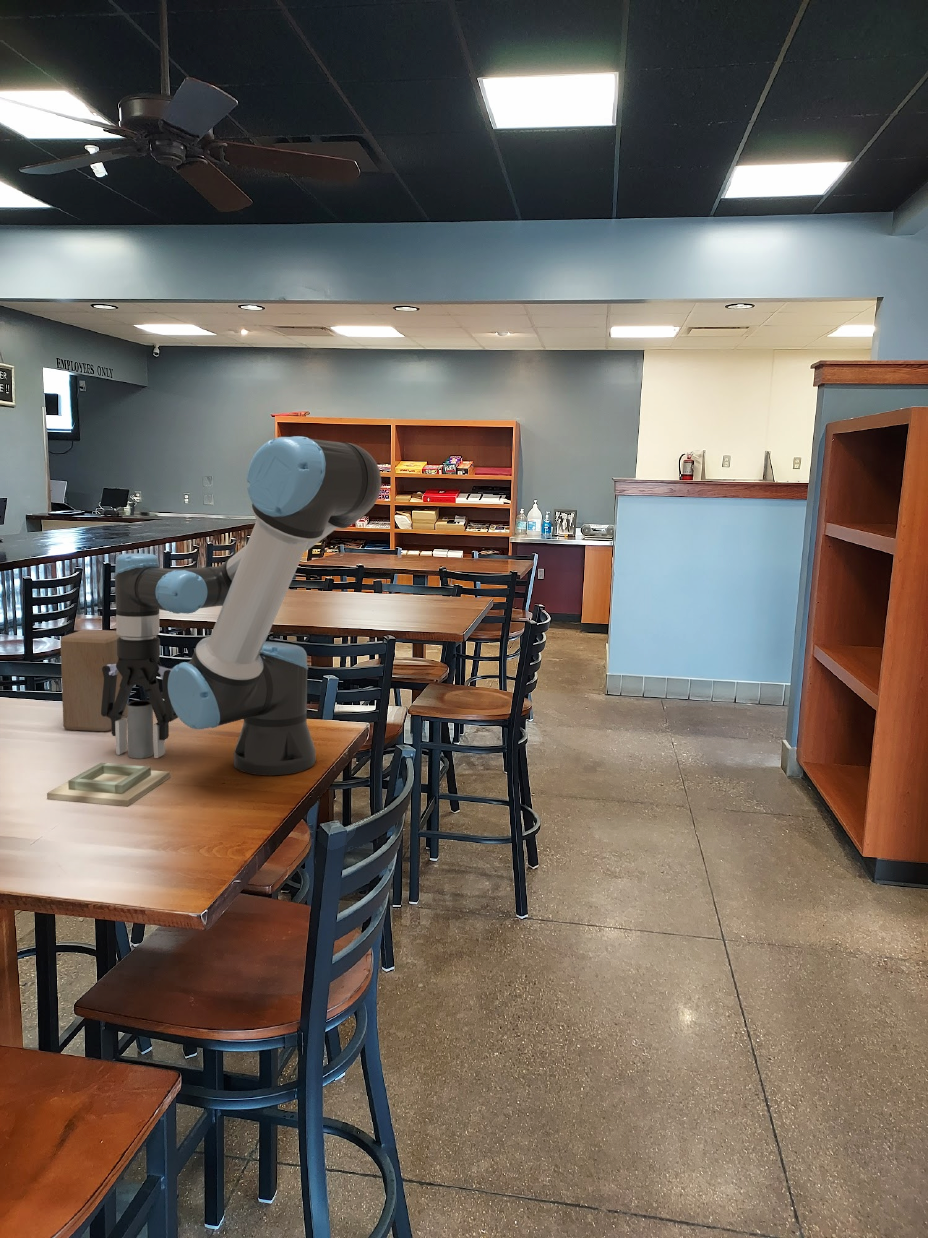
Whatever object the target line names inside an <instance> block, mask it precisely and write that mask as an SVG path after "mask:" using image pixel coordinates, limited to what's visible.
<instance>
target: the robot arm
mask: <svg viewBox="0 0 928 1238" xmlns="http://www.w3.org/2000/svg"><path fill="white" fill-rule="evenodd" d="M381 475H382V474H381V471H380V469H379V466H378V464H377V461H376V460H375V458H373V456H372V455H371V454H370V453H369V452H368V451H367V450H365V448H362V447H361V446H359V445H358V444H354V443H350V442H344V441H332V440H323V439H316V438H315V439H314V438H309V437H307V436H299V435H297V436H295V435H294V436H279V437H275V438H273V439H270V440H268V441H267V442H265V443H263V445H262V446H260V447H259V449H257V451H256V452H255V453H254V455H253V457H252V458H251V461H250V462H249V466H248V469H247V475H246V482H247V483H249V485H248V487H247V493H248V497H249V499H250V501H251V503H252V504H251V507H250V509H251V512H252V513H253V515H254V517H255V519H256V521H255V524H254V526H253V528H252V530H251V531H252V532H251V533H250V536H249V538H248V541H247V544H246V545H244V546H243V547H242V548H241V549H239V550H238V551H237V552H235V553H234V554H233V556H231V557H230V558H229V559H227V560H226V561H225V562H224V563H221V564H220V565H218V566H205V567H204V566H203V567H189V568H188V567H187V568H163V567H160V562H159V558H158V556H157V555H155V554H153V553H121V554H118V555H117V556H116V558H115V572H114V575H113V577H114V589H115V590H114V591H115V611H116V612H115V613H116V615H115V621H116V624H115V625H116V626H115V627H116V628H115V629H116V630H115V631H116V633H117V635H118V636H120V637H119V638H118V639H117V656H118V661H117V663H116V664H109V665H106V666H103V667H102V672H103V676H104V685H103V696H102V707H101V715H102V716H104V717H105V716H106V717H109V718H110V719H111V725H112V729H111V735H112V737H115V755H117V756H119V755H122V754H124V753H126V752H128V723H127V718H121V717H122V716H124V715H125V714H124V715H123V713H124V710H125V707H126V704H128V702H129V698H130V696H131V692H132V690H133V687H134V686H136V685H137V686H139V687H143V690H144V692H146V694H147V697H148V701H150V703H151V705H152V708H153V715H154V716H155V719H156V723H153V744H154V754H153V756H154V757H153V758H155V759H158V758H160V757H162V756H164V755H165V754H166V740H167V739H168V738H169V736H170V733H169V732H170V728H169V723H171V722H173V721H175V720H176V719H179V720H180V721H181V722H182V723H183V724H184V725H185V726H187V727H189V728H191V729H193V730H205V729H210V728H212V729H214V728H217V727H219V726H224V725H227V724H232V723H234V722H238V721H241V720H243V724H242V728H241V730H240V733H239V737H238V739H237V742H236V745H235V749H234V753H233V766H234V767H235V769H237V770H239V771H240V772H243V773H247V774H250V775H251V774H252V775H257V776H282V775H283V776H285V775H290V774H295V773H300V772H303V771H306V770H308V769H310V768H312V767H313V766H314V765H315V764H316V753H317V751H316V748H315V744H314V741H313V739H312V736H311V732H310V729H309V726H308V722H307V721H308V720H307V716H308V715H307V711H308V710H307V707H308V672H309V671H308V670H309V667H308V654H307V651H306V650H305V649H304V647H302V646H300V645H296V644H293V643H292V644H291V643H285V642H276V641H266V640H267V638H268V635H269V634H270V632H271V629H272V627H273V624H274V622H275V620H276V617H277V616H278V613H279V610H280V608H281V606H282V603H284V599H285V597H286V596H287V595H286V594H287V592H288V590H289V587H290V586H291V583H292V581H293V578H294V576H295V574H296V571H297V569H298V566H299V564H300V562H301V560H302V557H303V556H304V553H306V552H308V551H309V550H310V549H311V548H312V547H314V546H315V545H316V544H318V543H319V542H321V541H322V540H323V539H324V538H326V537H327V536H328V535H330V534H331V533H333V532H335V531H336V529H339V530H341V529H342V530H344V529H348V528H349V527H351V526H352V525H353V524H355V523H356V522H357V521H359V520H360V519H361V518H363V517H364V516H365V515H366V514H367V513H369V511H370V510H371V509H372V508H373V507H374V506H375V504H376V502H377V501H378V499H379V496H380V494H381V493H380V492H381V488H382V477H381ZM214 607H215V608H216V607H221V608H220V612H219V614H218V616H217V619H216V622H215V623H214V626H213V629H212V631H211V634H210V636H206V637H204V638H202V639H200V641H199V642H198V643H197V644H196V646H195V649H194V651H193V653H192V654H193V655H192V656H191V659H190V660H189V661H187V662H185V661H184V662H180V663H179V664H176V665H174V666H173V667H171V668H167V667H165V666H163V665H162V663H161V662H160V656H161V639H160V638H159V636H158V635H159V634H160V630H161V629H160V611H165V612H168V613H169V612H170V613H173V614H177V615H178V614H193V613H196V612H197V611H199V609H205V608H214ZM118 671H119V673H120V674H121V676H122V680H121V683H120V686H119V687H120V689H119V692H118V695H117V698H116V701H115V693H116V682H117V673H118ZM158 675H160V679H161V685H162V686H161V687H162V693H163V695H162V693H161V690H160V688H159V686H160V683H159V680H158V679H157V678H158V677H157V676H158Z"/></svg>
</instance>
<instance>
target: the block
mask: <svg viewBox="0 0 928 1238" xmlns="http://www.w3.org/2000/svg"><path fill="white" fill-rule="evenodd" d="M119 637H120V636H118V635H117V633H116V630H107V629H87V628H86V629H85V628H84V629H81V630H78V631H75V632H73V633H69V634H67V635H64V636H62V637H60V665H61V690H62V691H61V692H62V693H61V695H62V720H63V721H62V725H63V726H62V727H63V728H64V729H65V730H69V731H88V732H92V731H93V732H109V731H112V725H111V719H110V718H109V717H106V716H105V717H104V716H102V715H101V707H102V696H103V685H104V676H103V672H102V667H103V666H106V665H109V664H116V663H117V661H118V656H117V639H118V638H119ZM121 680H122V676H121V674H120V673H119V671H118V673H117V682H116V693H115V701H116V698H117V695H118V692H119V689H120V687H119V686H120V683H121ZM127 704H128V703H127ZM127 704H126V707H125V710H124V713H123V715H124V714H125V715H124V716H122V717H121V718H127Z"/></svg>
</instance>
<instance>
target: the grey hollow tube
mask: <svg viewBox="0 0 928 1238" xmlns="http://www.w3.org/2000/svg"><path fill="white" fill-rule="evenodd" d="M127 756H128V757H129V758H130V759H136V760H137V759H146V758H147V759H148V758H150V757H153V756H154V711H153V708H152V705H151V703H150V700H147V699H144V700H143V699H141V700H140V699H139V700H132V701H128V702H127Z"/></svg>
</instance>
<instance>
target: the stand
mask: <svg viewBox="0 0 928 1238" xmlns="http://www.w3.org/2000/svg"><path fill="white" fill-rule="evenodd" d="M169 778H171V772H170V771H162V770H161V771H160V770H152V767H151V766H145V765H134V764H133V765H132V764H121V763H120V764H119V763H110V762H109V763H108V762H99V763H97V764H95V765H94V766H92V767H90V768H88V769H86V770H85V771H83V772H80V774H78V775H76V776H74V777H72V778H71V779H68V781H66V782H64V783H63V784H60V785H59V786H57V787H55V788H53V789H52V790H50V791H48V792H47V793H46V800H54V801H55V800H57V801H66V802H67V801H68V802H75V803H77V802H78V803H86V804H97V805H98V804H99V805H109V806H120V807H129V806H131V805H132V804H133V803H135V802H136V801H138V800H139V799H140V798H142V797H144V796H145V795H146V794H148V793H149V792H151V791H152V790H154V789H155V788H157V787H158V786H160V785H161V784H163V782H165V781H167V780H169Z"/></svg>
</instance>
